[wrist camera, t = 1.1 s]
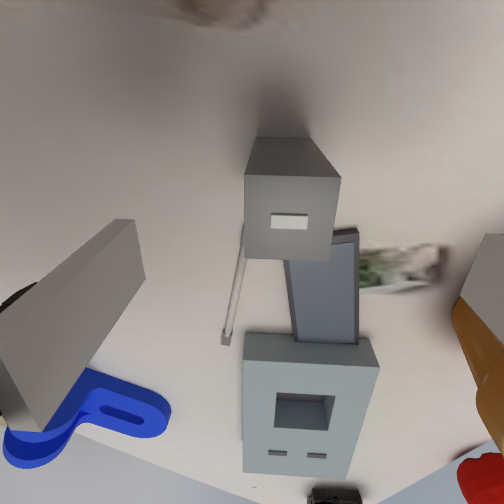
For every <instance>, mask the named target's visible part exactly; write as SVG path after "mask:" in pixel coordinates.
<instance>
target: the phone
mask: <svg viewBox="0 0 504 504" xmlns="http://www.w3.org/2000/svg"><path fill="white" fill-rule="evenodd" d="M284 267H285V275H286V282H287V290H288V298H289V306H290V313H291V321H292V329H293V336H294V341H295V342H301V343H321V344H353V345H359V232H358V230H357V229H349V230H341V231H333V235H332V241H331V248H330V254H329V260H328V262H327V261H302V260H284Z"/></svg>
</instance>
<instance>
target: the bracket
mask: <svg viewBox="0 0 504 504" xmlns="http://www.w3.org/2000/svg"><path fill="white" fill-rule="evenodd" d="M170 415H171V407H170V405H169V403H168V402H167V400H166V399H165V398H163V397H162V396H161V395H159V394H157V393H156V392H153V391H151V390H148V389H145V388H142V387H140V386H137V385H134V384H131V383H128V382H125V381H123V380H120V379H117V378H114V377H111V376H109V375H106V374H103V373H100V372H97V371H94V370H92V369H89V368H86V367H85V369H84V370H83V372H82V373H81V375H80V376H79V378H78V379H77V381H76V382H75V384H74V385H73V387H72V388H71V390H70V391H69V393H68V394H67V395H66V397H65V398H64V400H63V401H62V403H61V404H60V406H59V407H58V409H57V410H56V412H55V413H54V415H53V416H52V418H51V419H50V421H49V422H48V424H47V425H46V426H45V428H44V429H43V431H42V432H29V431H17V430H11V429H10V428H9V426H7V428H6V431H5V435H4V441H3V454H4V457H5V458H6V460H7V461H8V462H9V463H10V464H11V465H13V466H15V467H18V468H22V469H30V468H36V467H40V466H42V465H45V464H47V463H48V462H50V461H52V460H53V459H54V458H56V457H57V456H58V455H59V453H61V452H62V450H63V449H64V447H65V446H66V444H67V442H68V441H69V439H70V437H71V435H72V434H73V432H74V430H75V429H76V427H77V426H79V425H80V424H82V423H86V422H88V423H92V424H95V425H98V426H101V427H104V428H108V429H111V430H114V431H117V432H120V433H123V434H126V435H129V436H133V437H138V438H151V437H156V436H158V435H160V434H162V433H163V432H164V431H165V430H166V428H167V425H168V421H169V418H170ZM7 425H8V424H7Z"/></svg>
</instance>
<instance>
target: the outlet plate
mask: <svg viewBox="0 0 504 504" xmlns="http://www.w3.org/2000/svg"><path fill="white" fill-rule="evenodd" d="M379 369H380V366H379V364H378V361H377V358H376V356H375V353H374V351H373V348H372V346H371V343H370V340H369V339H362V338H359V345H353V344H321V343H301V342H295V341H294V336H293V335H283V334H263V333H246V334H245V343H244V353H243V472H245V473H259V474H273V475H288V476H302V477H316V478H330V479H345V478H346V475H347V472H348V469H349V466H350V462H351V459H352V456H353V453H354V449H355V446H356V443H357V440H358V437H359V433H360V430H361V427H362V424H363V421H364V417H365V414H366V411H367V408H368V405H369V401H370V398H371V395H372V392H373V388H374V385H375V382H376V379H377V376H378V372H379Z"/></svg>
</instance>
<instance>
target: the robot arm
mask: <svg viewBox="0 0 504 504" xmlns="http://www.w3.org/2000/svg"><path fill="white" fill-rule="evenodd" d="M144 280H145V273H144V268H143V263H142V257H141V252H140V246H139V241H138V236H137V230H136V225H135V220H130V219H115V220H113V221H112V222H111V223H110V224H109V225H107V226H106V227H105V228H104V229H102V230H101V231H100V232H99V233H98V234H96V235H95V236H94V237H93V238H92V239H90V240H89V241H88V242H87V243H85V244H84V245H83V246H82V247H81V248H79V249H78V250H77V251H76V252H75V253H73V254H72V255H71V256H70V257H68V258H67V259H66V260H65V261H64V262H62V263H61V264H60V265H59V266H57V267H56V268H55V269H54V270H53V271H51V272H50V273H49V274H48V275H47V276H45V277H44V278H43V279H42V280H40V281H39V282H35V283H33V284H31V285H29V286H27V287H25V288H23V289H21V290H19V291H17V292H16V293H14V294H13V295H12V296H11V297H9V298H8V299H7V300H6V301H4V302H3V303H2V305H1V306H0V416H1V415H2V416H3V418H4V420H5V421H6V423H7V424H8V426H9V428H10V429H11V430H17V431H29V432H42V431H43V429H44V428H45V426H46V425H47V424H48V422H49V421H50V419H51V418H52V416H53V415H54V413H55V412H56V410H57V409H58V407H59V406H60V404H61V403H62V401H63V400H64V398H65V397H66V395H67V394H68V393H69V391H70V390H71V388H72V387H73V385H74V384H75V382H76V381H77V379H78V378H79V376H80V375H81V373H82V372H83V370H84V369H85V367H86V366H87V365H88V363H89V362H90V360H91V359H92V357H93V356H94V354H95V353H96V351H97V350H98V348H99V347H100V345H101V344H102V342H103V341H104V339H105V338H106V336H107V335H108V334H109V332H110V331H111V329H112V328H113V326H114V325H115V323H116V322H117V320H118V319H119V317H120V316H121V314H122V313H123V311H124V310H125V308H126V307H127V306H128V304H129V303H130V301H131V300H132V298H133V297H134V295H135V294H136V292H137V291H138V289H139V288H140V286H141V285H142V283H143V282H144ZM460 296H461V297H462V298H463V299H464V300H465V302H466V303H467V304H468V305H469V306H470V307H471V308H472V309H473V311H474V312H475V313H476V314H477V315H478V316H479V317H480V318H481V320H482V321H483V322H484V323H485V324H486V325H487V326H488V327H489V329H490V330H491V331H492V332H493V333H494V334H495V335H496V336H497V338H498V339H499V340H500V341H501V342H502V343H503V344H504V234H485V236H484V238H483V241H482V243H481V245H480V248H479V250H478V252H477V255H476V257H475V259H474V262H473V264H472V267H471V269H470V271H469V274H468V276H467V278H466V281H465V283H464V285H463V288H462V290H461V293H460Z"/></svg>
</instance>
